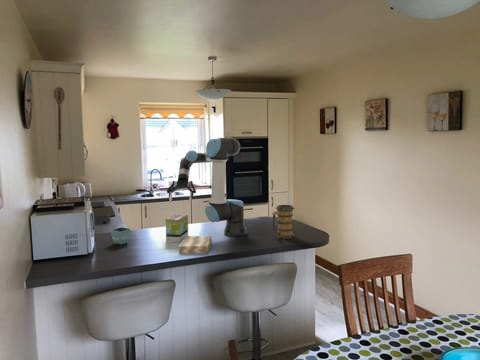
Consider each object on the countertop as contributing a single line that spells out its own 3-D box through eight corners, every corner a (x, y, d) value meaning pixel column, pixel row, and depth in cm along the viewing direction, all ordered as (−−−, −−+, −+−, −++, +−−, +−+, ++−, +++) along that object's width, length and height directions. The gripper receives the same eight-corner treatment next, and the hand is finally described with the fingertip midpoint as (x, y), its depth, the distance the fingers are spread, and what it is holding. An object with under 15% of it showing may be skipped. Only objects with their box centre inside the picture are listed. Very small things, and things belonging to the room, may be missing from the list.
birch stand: (211, 242, 232) (211, 235, 231) (207, 253, 210) (207, 246, 209) (186, 242, 232) (185, 236, 232) (179, 253, 210) (179, 246, 210)
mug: (299, 237, 239) (299, 206, 237) (278, 241, 230) (278, 209, 228) (286, 232, 250) (286, 203, 248) (266, 237, 241) (265, 206, 238)
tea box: (180, 242, 232) (179, 219, 230) (165, 242, 234) (164, 219, 232) (188, 236, 247) (188, 214, 245) (174, 235, 249) (173, 214, 247)
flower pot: (131, 242, 235) (130, 228, 234) (120, 246, 228) (119, 231, 227) (122, 240, 240) (121, 227, 239) (111, 244, 232) (110, 230, 231)
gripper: (201, 179, 268) (199, 203, 255) (167, 179, 269) (163, 204, 256) (200, 173, 263) (197, 197, 249) (165, 173, 263) (160, 197, 250)
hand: (180, 200), depth 253 cm, fingers open, 13 cm apart
